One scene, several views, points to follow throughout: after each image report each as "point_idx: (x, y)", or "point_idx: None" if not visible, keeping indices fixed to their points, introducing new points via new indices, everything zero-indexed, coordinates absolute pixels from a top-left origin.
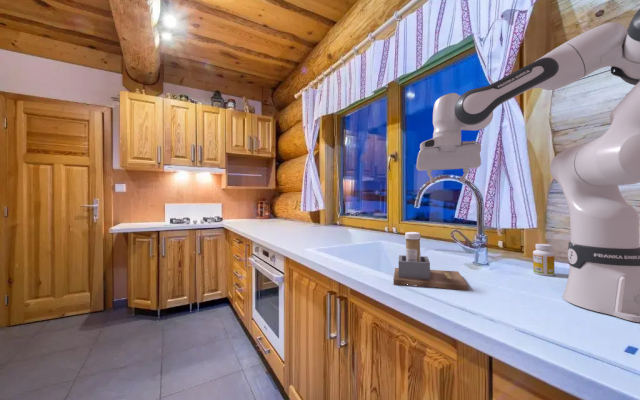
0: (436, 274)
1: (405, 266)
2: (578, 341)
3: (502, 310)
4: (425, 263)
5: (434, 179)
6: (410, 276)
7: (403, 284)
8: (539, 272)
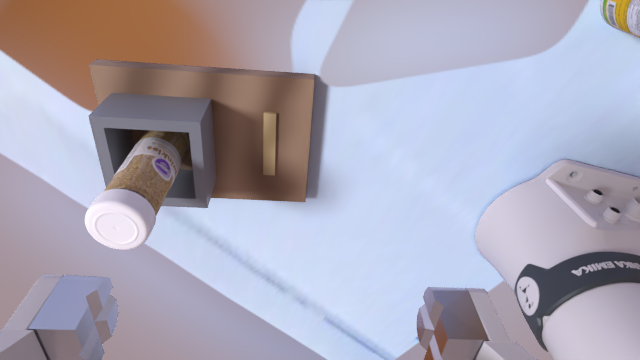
0: (237, 127)
1: None
2: (383, 329)
3: (334, 273)
4: (194, 205)
5: (93, 353)
6: None
7: None
8: (605, 18)
